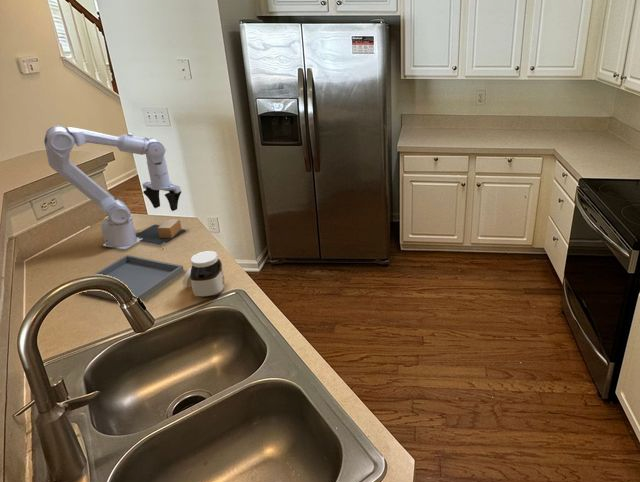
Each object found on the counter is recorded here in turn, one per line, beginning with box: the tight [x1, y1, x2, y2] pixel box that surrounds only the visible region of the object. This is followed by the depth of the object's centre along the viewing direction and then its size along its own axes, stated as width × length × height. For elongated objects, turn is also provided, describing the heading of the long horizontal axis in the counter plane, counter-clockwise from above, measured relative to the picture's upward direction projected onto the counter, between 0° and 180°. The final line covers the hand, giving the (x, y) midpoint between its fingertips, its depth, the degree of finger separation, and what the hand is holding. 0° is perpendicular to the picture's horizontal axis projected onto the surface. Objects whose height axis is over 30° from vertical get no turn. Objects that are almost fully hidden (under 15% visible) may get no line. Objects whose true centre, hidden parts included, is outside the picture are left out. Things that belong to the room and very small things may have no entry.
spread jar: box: [182, 250, 225, 300], centre depth 124 cm, size 12×11×12 cm
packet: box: [158, 218, 182, 238], centre depth 156 cm, size 4×7×4 cm, turn 179°
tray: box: [82, 254, 185, 302], centre depth 128 cm, size 22×18×3 cm
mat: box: [136, 224, 186, 246], centre depth 156 cm, size 14×12×1 cm
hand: (165, 208), depth 156 cm, fingers open, 7 cm apart
